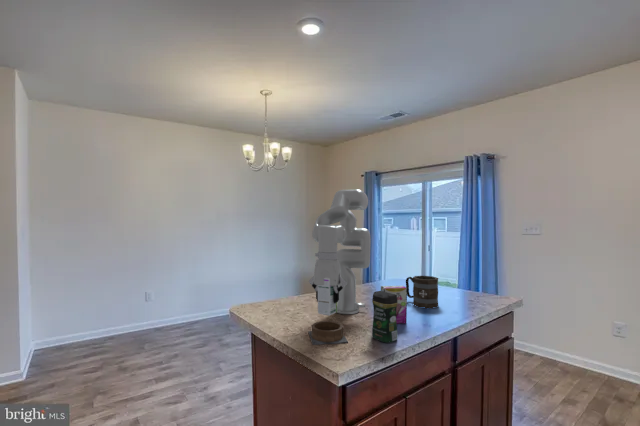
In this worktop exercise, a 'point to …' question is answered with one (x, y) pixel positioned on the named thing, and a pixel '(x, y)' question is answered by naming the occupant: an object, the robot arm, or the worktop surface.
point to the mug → (424, 291)
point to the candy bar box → (399, 301)
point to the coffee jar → (384, 316)
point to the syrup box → (326, 298)
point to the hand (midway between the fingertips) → (327, 301)
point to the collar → (327, 333)
